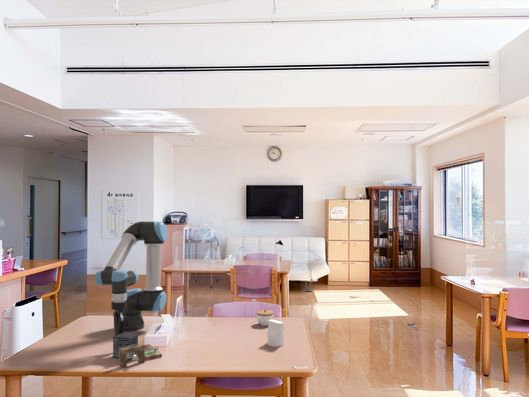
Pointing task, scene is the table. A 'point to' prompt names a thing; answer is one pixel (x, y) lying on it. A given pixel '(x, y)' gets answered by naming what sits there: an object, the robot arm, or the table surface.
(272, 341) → the white upright cylinder
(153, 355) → the gauge bench
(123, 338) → the small box
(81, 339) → the table surface
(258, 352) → the table surface
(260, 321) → the lidded jar
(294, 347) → the table surface
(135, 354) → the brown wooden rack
